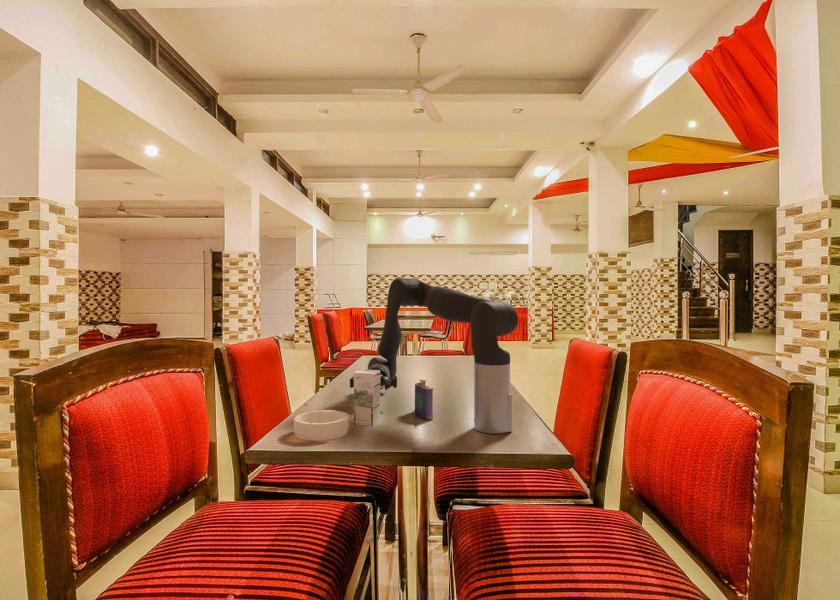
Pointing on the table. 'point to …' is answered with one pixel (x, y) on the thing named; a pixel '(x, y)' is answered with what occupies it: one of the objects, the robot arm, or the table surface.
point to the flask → (423, 401)
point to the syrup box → (366, 397)
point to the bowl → (321, 425)
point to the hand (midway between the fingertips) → (371, 386)
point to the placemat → (342, 439)
